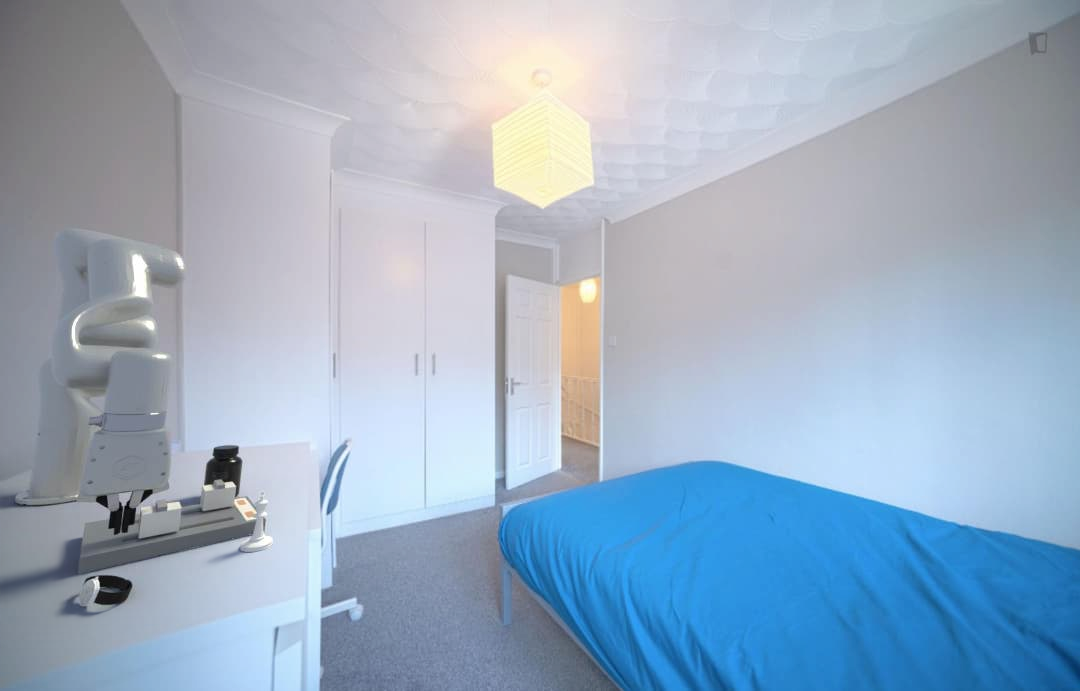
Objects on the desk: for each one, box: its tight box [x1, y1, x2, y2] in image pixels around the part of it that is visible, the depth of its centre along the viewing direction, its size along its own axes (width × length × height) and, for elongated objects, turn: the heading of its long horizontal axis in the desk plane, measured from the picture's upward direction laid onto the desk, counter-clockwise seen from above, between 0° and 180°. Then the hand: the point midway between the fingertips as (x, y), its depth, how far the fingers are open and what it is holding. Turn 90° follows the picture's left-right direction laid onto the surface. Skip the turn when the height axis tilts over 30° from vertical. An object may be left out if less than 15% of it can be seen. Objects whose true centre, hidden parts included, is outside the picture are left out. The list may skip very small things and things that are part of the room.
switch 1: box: [138, 499, 182, 539], centre depth 68 cm, size 4×5×5 cm
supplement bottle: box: [203, 444, 243, 498], centre depth 92 cm, size 7×7×12 cm
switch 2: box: [199, 479, 236, 511], centre depth 81 cm, size 4×5×5 cm
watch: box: [78, 574, 134, 607], centre depth 54 cm, size 8×5×4 cm, turn 67°
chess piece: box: [239, 490, 274, 553], centre depth 72 cm, size 5×5×10 cm
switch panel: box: [77, 495, 267, 575], centre depth 73 cm, size 16×24×3 cm, turn 138°
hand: (120, 530), depth 65 cm, fingers closed
